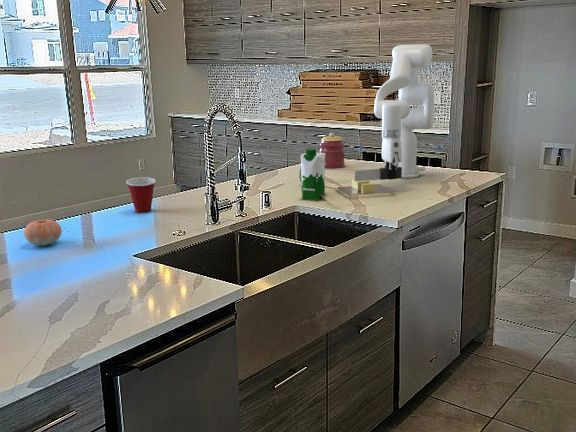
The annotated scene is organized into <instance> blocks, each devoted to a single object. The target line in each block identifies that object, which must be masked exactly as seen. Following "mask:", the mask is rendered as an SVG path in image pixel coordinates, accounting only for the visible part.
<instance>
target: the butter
mask: <svg viewBox="0 0 576 432" xmlns="http://www.w3.org/2000/svg"><path fill="white" fill-rule="evenodd" d="M369 183H370V180H367V181H355V178H351V186H352V187H353V188H354V189H356V190H362V184H369Z"/></svg>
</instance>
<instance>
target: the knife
mask: <svg viewBox="0 0 576 432" xmlns="http://www.w3.org/2000/svg"><path fill="white" fill-rule="evenodd" d="M388 170H389V167H387V168H385V167H379V168H368V169H355V170H354V179H355V181H367V180H368V181H379V180H380V181H385V180H389V179H388ZM397 179H403V178H402V167H397V169H396V179H395V180H397Z"/></svg>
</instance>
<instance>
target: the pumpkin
mask: <svg viewBox="0 0 576 432" xmlns="http://www.w3.org/2000/svg"><path fill="white" fill-rule="evenodd" d="M62 229H63V228H62V226H61V225H60V223H58V222H57V221H55V220H53V219H49V218H47V219H46V218H43V219H42V218H41V219H36V220H33V221H31V222H30V223H28V224H27V225H26V226H25V228H24V231H23V236H24V238H25V240H26V241H27V242H28V243H29V244H31V245H34V246H39V247H44V246H49V245H52V244H55V243H56V242H57V241H58V240H59V239H60V238H61V237H62V231H63V230H62Z"/></svg>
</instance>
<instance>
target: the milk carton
mask: <svg viewBox="0 0 576 432" xmlns="http://www.w3.org/2000/svg"><path fill="white" fill-rule="evenodd" d="M300 168H301V175H302V183H301V200H307V201H308V200H309V201H320V200H321V199H323V198H324V197H323V196H324V195H325V194H326V193H325V191H326V189H325V187H326V186H325V185H326V180H325V179H326V177H325V175H326V172H325V171H326V170H325V169H326V168H325V153H320V152H317V149H316V148H307V149H305V152H304V153H302V154H300Z"/></svg>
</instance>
